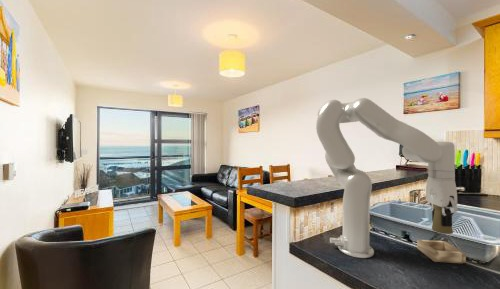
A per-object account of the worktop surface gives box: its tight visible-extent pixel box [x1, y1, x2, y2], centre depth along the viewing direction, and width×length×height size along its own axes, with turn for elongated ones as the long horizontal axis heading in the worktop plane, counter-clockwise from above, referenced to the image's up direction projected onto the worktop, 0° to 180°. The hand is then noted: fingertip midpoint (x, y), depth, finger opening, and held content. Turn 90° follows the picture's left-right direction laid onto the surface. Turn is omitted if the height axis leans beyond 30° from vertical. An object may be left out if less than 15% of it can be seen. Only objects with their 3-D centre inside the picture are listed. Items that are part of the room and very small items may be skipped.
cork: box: [431, 204, 454, 235], centre depth 84 cm, size 6×6×11 cm
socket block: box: [416, 239, 467, 264], centre depth 84 cm, size 10×10×4 cm
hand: (441, 223), depth 84 cm, fingers closed on cork, 4 cm apart
